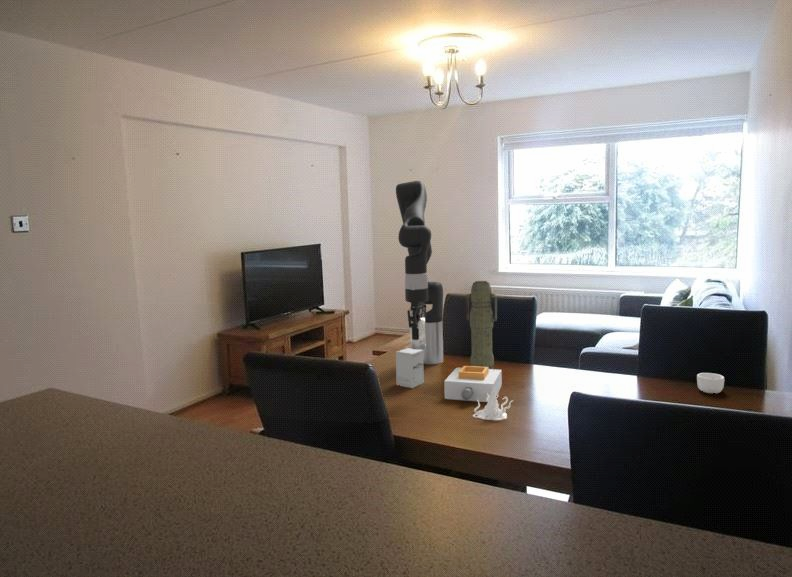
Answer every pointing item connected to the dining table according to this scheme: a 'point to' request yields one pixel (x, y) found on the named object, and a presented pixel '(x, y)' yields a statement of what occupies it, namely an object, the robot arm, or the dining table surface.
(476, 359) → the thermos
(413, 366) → the supplement box
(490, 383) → the white square box
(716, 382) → the teacup
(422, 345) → the shiny metal cylinder
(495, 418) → the tentacle sculpture
